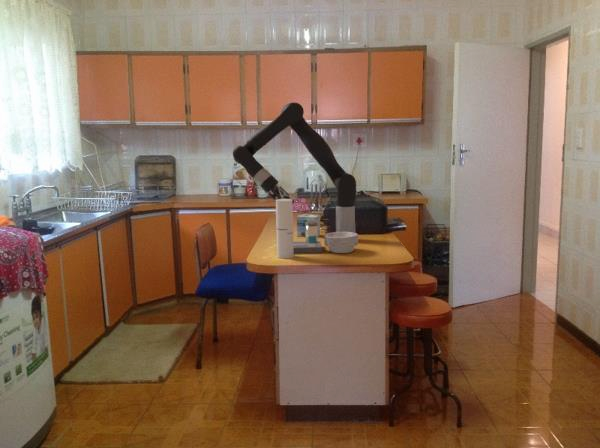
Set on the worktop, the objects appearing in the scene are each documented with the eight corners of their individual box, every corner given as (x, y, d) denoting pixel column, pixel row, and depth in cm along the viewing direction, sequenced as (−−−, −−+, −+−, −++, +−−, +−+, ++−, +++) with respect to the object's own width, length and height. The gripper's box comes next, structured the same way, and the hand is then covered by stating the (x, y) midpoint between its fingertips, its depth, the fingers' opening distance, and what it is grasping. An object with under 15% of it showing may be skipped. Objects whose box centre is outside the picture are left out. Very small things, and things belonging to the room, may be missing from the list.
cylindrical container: (277, 254, 242) (275, 199, 238) (293, 254, 243) (291, 198, 238) (277, 258, 235) (276, 201, 231) (294, 258, 236) (292, 200, 231)
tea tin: (306, 243, 253) (305, 222, 251) (318, 243, 253) (317, 222, 251) (306, 246, 247) (305, 224, 245) (318, 246, 247) (318, 224, 245)
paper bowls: (324, 248, 254) (324, 231, 253) (357, 247, 254) (356, 230, 253) (324, 255, 239) (324, 237, 238) (359, 255, 239) (359, 237, 238)
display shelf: (320, 246, 257) (320, 238, 257) (321, 252, 244) (321, 244, 244) (284, 247, 257) (284, 239, 257) (283, 253, 244) (283, 244, 244)
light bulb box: (296, 236, 283) (296, 216, 281) (301, 234, 289) (301, 214, 287) (315, 237, 279) (315, 216, 277) (320, 235, 285) (320, 214, 283)
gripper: (266, 175, 242) (291, 201, 241) (275, 173, 256) (299, 197, 255) (255, 187, 244) (280, 213, 243) (265, 184, 258) (289, 208, 257)
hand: (290, 205), depth 249 cm, fingers open, 8 cm apart
